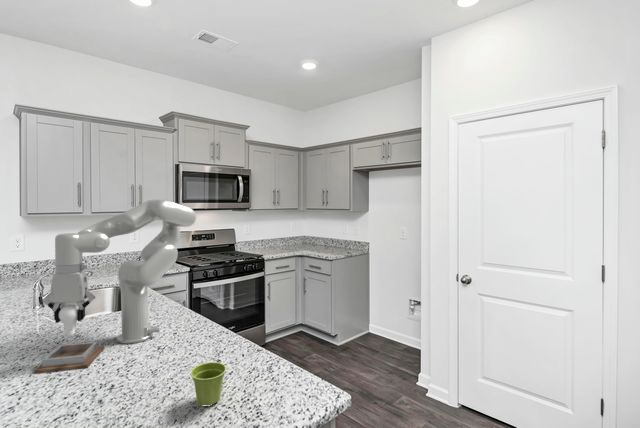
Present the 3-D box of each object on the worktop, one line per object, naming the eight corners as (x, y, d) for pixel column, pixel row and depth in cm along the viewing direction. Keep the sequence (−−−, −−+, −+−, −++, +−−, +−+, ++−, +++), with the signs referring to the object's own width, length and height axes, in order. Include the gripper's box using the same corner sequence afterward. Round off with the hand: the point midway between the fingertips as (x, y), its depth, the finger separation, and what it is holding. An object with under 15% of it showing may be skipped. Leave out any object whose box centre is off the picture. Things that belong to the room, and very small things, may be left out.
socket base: (104, 348, 126) (104, 346, 126) (87, 367, 112) (87, 364, 112) (57, 353, 123) (57, 350, 123) (34, 373, 108) (34, 370, 108)
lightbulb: (77, 331, 121) (77, 301, 121) (83, 335, 117) (82, 304, 117) (56, 336, 116) (56, 305, 116) (61, 341, 112) (61, 308, 112)
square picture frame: (98, 348, 125) (97, 341, 124) (84, 363, 113) (83, 356, 113) (60, 351, 121) (60, 345, 121) (42, 367, 110) (42, 360, 110)
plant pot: (230, 390, 98) (229, 361, 98) (221, 410, 89) (221, 378, 89) (197, 391, 98) (197, 362, 98) (185, 411, 89) (185, 379, 88)
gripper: (101, 266, 122) (102, 315, 122) (45, 268, 117) (46, 319, 118) (93, 270, 115) (93, 322, 115) (33, 272, 110) (34, 326, 111)
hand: (69, 320), depth 116 cm, fingers closed on lightbulb, 5 cm apart
